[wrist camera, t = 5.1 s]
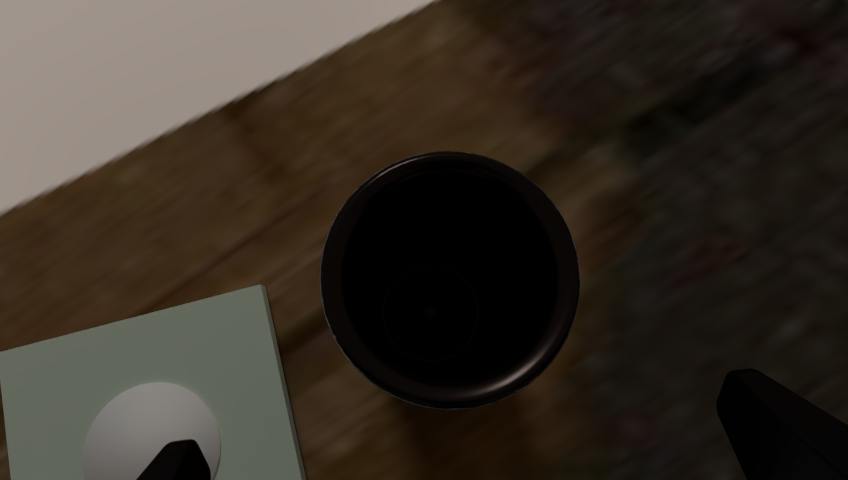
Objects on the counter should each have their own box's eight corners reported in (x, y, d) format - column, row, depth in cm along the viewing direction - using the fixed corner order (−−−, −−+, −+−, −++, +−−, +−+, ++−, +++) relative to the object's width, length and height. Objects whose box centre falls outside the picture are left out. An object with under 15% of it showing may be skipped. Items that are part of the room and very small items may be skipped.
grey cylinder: (509, 278, 19) (614, 201, 9) (467, 398, 19) (533, 454, 9) (394, 234, 20) (378, 112, 10) (347, 350, 19) (274, 350, 9)
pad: (320, 549, 17) (317, 557, 17) (42, 633, 17) (26, 645, 16) (265, 286, 19) (259, 283, 19) (10, 352, 19) (-6, 352, 18)
